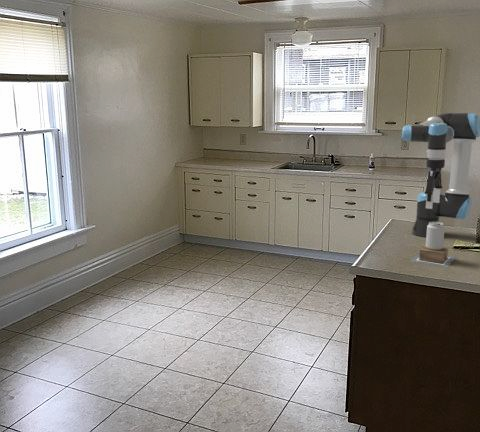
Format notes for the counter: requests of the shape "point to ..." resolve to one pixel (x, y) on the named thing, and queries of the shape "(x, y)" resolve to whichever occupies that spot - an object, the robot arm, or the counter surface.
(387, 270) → the counter surface
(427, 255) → the walnut block
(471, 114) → the robot arm
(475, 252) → the counter surface
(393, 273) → the counter surface
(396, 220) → the counter surface
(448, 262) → the grey flat plate
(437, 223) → the can
